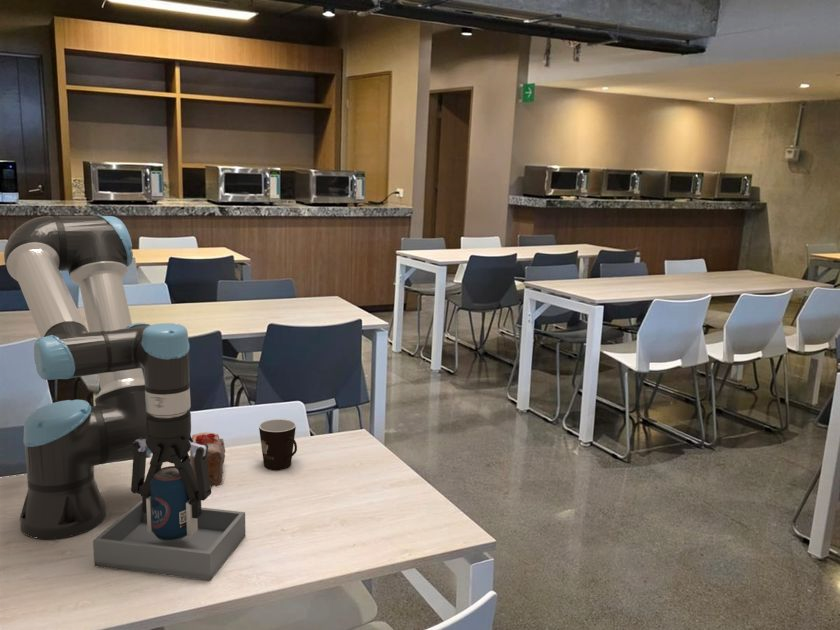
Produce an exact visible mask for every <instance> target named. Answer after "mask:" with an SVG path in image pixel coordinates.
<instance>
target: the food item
mask: <svg viewBox="0 0 840 630" xmlns="http://www.w3.org/2000/svg"><path fill="white" fill-rule="evenodd" d="M191 438H192V440H193V443H196V444H199V445H203V444H207V445H208V451H207V463H208V471H209V478H210V485H211V487H212V486H214V485H215V487H216V486H217V485H218V486H220V485H221V484H222V482H223V479H224V478H223V477H224V468H223V467H224V463H225V458H226V454H225V453H226V447H225V440H224V438H220V436H219V433H213V432H208V431H206V432H200V433H199V432H198V433H195V434H194V433H193V434H192V435H191ZM189 457H190V464H191V466H192V469H193V472H194V474H195V477H196V471H195V463H194V458H195V457H193V452H192V450H190V451H189ZM196 479H197V478H196Z"/></svg>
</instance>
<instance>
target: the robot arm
mask: <svg viewBox="0 0 840 630" xmlns="http://www.w3.org/2000/svg"><path fill="white" fill-rule="evenodd" d="M132 247H133V244H132V239H131V236H130V233H129V231H128V229H127V226H126V225H125V223H124V222H123V220H121V219H120V218H119V217H116V216H112V215H101V214H95V215H69V216H68V215H67V216H66V215H65V216H63V215H59V216H58V215H57V216H56V215H55V216H52V215H45V216H39V217H35V218H32V219H30V220H29V219H28V220H27V221H25V222H24V223H23V224H21V225H20V226H18V227H17V228H16V229H15V230H14V231H13V233H11V235H10V236H9V238H8V239H7V241H6V244H5V246H4V252H3V259H4V264H5V267H6V269H7V272H8V274H9V275H10V277H11V278H13V279H14V281H16V282H18V285H19V286H20V289H21V292H22V295H23V297H24V299H25V302H26V304H27V307H28V309H29V311H30V314H31V316H32V319H33V321H34V324H35V326H36V329H37V331H38V335H39V338H37V339H36V340H35V342H34V345H33V357H34V363H35V367H36V372H37V374H38V376H39V378H41V379H43V380H45V381H49V380H53V381H54V380H69V379H73V378H78V377H79V378H80V377H86V376H93V375H94V376H95V375H97V377H98V383H99V387H100V391H99V392H98V394H97V395H96V396H95V397H94V402H95V405H94V406H91V404H90V403H89V402H88V401H86V400H84V399H73V400H71V399H66V400H60V401H55V402H51V403H49V404H46V405H42V406H41V407H39V408H37V409H35V410H34V411H31V413H30V414H29V415H28V416H27V417H26V418H25V420H24V421H23V422H24V423H23V439H22V441H23V445H24V450H25V451H24V452H25V464H26V465H25V466H26V480H27V491H26V495H25V498H24V501H23V505H22V509H21V512H20V516H19V524H20V526H19V527H20V530H22V531H21V533H23V534H24V533H25V534H27V535H29V536H28V537H30V536H32V537H31V538H33V537H37V538H36V539H38V538H45V539H44V540H56V539H65V538H70V537H74V536H77V535H80V534H83V533H85V532H88V531H90V530H92V529H94V528H96V527H97V526H99V525H100V524H101V523H102V522H104V520H105V518H106V516H107V507H106V503H105V502H106V501H105V500H104V498H103V496H102V494H101V491H100V489H99V487H98V484H97V482H96V480H95V471H94V470H95V466H99V465H104V464H109V463H113V462H118V461H124V460H128V459H132V471H131V485H130V487H131V488H130V492H131V493H132V494H134V495H136V494H138V495H139V496H140V497H141V499H142V500H141V501H142V507H143V512H144V513H147V529H148V532H151V533H152V532H153V531H152V511H151V486H150V483H151V481H152V479H153V477H154V474H156V473H157V472H158V471H159V470H160V469H161V468H163V463H170V464H173V466H175V468H176V469H178V471H179V474H180V476H181V479H182V481H183V483H184V485H185V489H186V491H187V494H188V497H189V499H190V500H189V501H188V502H187V503H186V520H187V537H191V536H192V535H193V534H194V533H195V532H196V531H197V530H198V525H197V518H198V517H199V516H200V515H201V513H202V512H201V507H202V501H203V502H204V501H206V500H207V498H208V497H209V496H210V495H211V494H212V486H211V485H210V478H209V471H208V463H207V451H208V445H207V444H203V445H199V444H196V443H193V440H192V435H191V433H192V421H191V420H192V414H191V410H190V409H191V407H192V406H191V405H192V404H191V389H190V388H191V387H190V341H189V332H188V329H187V328H186V326H184V325H182V324H179V323H178V324H176V323H173V322H172V323H170V322H165V323H155V324H150V323H145V322H135V323H132V317H131V315H130V309H129V304H128V300H127V295H126V292H125V291H126V290H125V287H124V282H123V278H124V277H125V276H126V274H127V272H128V267H129V266H131V264H132V262H133V257H134V253H133V252H134V251H133V249H132ZM63 271H67V272H68V275H69V279H70V281H71V282H72V283H73V284H75V285H77V286H79V290H80V294H81V300H82V304H83V310H84V313H85V319H86V324H85V322H84V320H83V318H82V316H81V314H80V312H79V309H78V308H77V305H76V303H75V301H74V299H73V297H72V294H71V292H70V291H69V287H68V286H67V284H66V282H65V280H64V278H63V276H62V273H61V272H63ZM86 325H87V326H86ZM190 450H192V452H193V457H195V458H194V463H195V471H196V477H195V474H194V472H193V469H192V466H191V464H190V457H189V456H190ZM151 454H152V456H151V458H150V462H149V468H148V470H147V474H146V466H147V463H146V462H147V455H151ZM196 478H197V479H196ZM25 534H24V535H25ZM27 535H26V536H27Z"/></svg>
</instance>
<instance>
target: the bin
mask: <svg viewBox="0 0 840 630" xmlns="http://www.w3.org/2000/svg"><path fill="white" fill-rule="evenodd" d="M201 512H202V513H201V515H200V516H199V517H198V518H197V525H198V530H197V531H196V532H195V533H194V534H193V535H192V536H191V537H187V536H185V537H184V538H182V539H179V540H175V541H162V540H160V539H158V538H157V537H156V535H155V534H154V533H153V532H152V533H151V532H148V529H147V513H144V512H143V507H142V500H139V501H138V502H137V503H136V504H134V505H133V506H132V507H130V508H129V509H128V510H127V511H126V512H125V513H124V514H122V515H121V516H120V517H118V519H116V520H115V521H114V522H113V523H112V524H110V525H109V526H108V527H107V528H106V529H104V530H103V531H102V532H101V533H100V534H99V535H97V536H96V537H95V538H94V539H93V540H92V546H93V547H92V549H93V551H92V552H93V564H94V565H93V567H95V566H98V567H97V568H104V567H105V568H106V569H113V570H121V571H122V570H123V571H129V572H130V571H131V572H139V573H146V574H153V575H162V576H170V577H176V578H177V577H178V578H179V577H180V578H185V579H186V578H187V579H196V580H202V581H209V582H210V581H212V579H213V578H214V577H215V575H217V573H218V572H219V570H220V569H221V568H222V567H223V565H224V564H225V563H226V562H227V560H228V559H229V558H230V557H231V556H232V554H233V552H234V551H235V550H236V548H237V547H238V546H239V545H240V544H241V543H242V541H243V540H244V539H245V538H246V511H240V510H238V511H237V510H228V509H227V510H226V509H220V508H219V509H218V508H209V507H202V506H201Z"/></svg>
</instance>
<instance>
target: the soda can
mask: <svg viewBox="0 0 840 630" xmlns="http://www.w3.org/2000/svg"><path fill="white" fill-rule="evenodd" d="M150 486H151V511H152V531H153V533H154V534H155V535H156V537H157V538H158V539H160V540H162V541H175V540H179V539H182V538H184V537H185V536H187V520H186V503H187V502H188V501H189V500H190V499H189V497H188V494H187V491H186V489H185V485H184V483H183V481H182V479H181V476H180V474H179V471H178V469H176V468H175V465H172V466H171V465H170V466H169V465H168V466H164V467H161V469H160V470H159V471H158V472H157V473H156V474H154V477H153V479H152V481H151V483H150Z"/></svg>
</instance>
